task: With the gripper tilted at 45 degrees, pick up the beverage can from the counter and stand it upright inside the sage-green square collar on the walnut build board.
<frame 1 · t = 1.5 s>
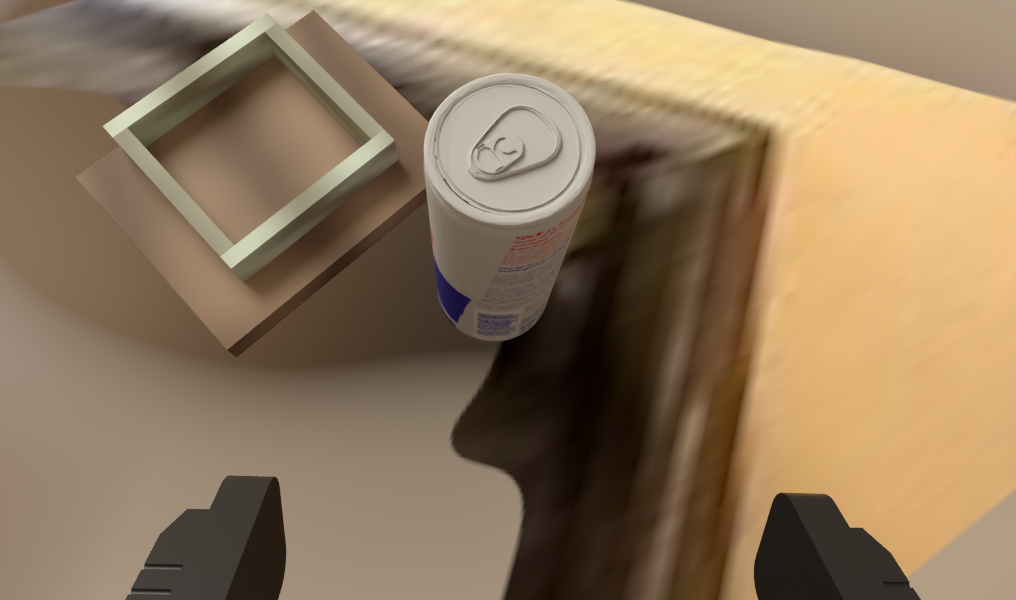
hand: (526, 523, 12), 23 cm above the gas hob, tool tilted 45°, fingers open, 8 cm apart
build board: (280, 180, 38), on the gas hob
beverage can: (492, 291, 37), on the gas hob
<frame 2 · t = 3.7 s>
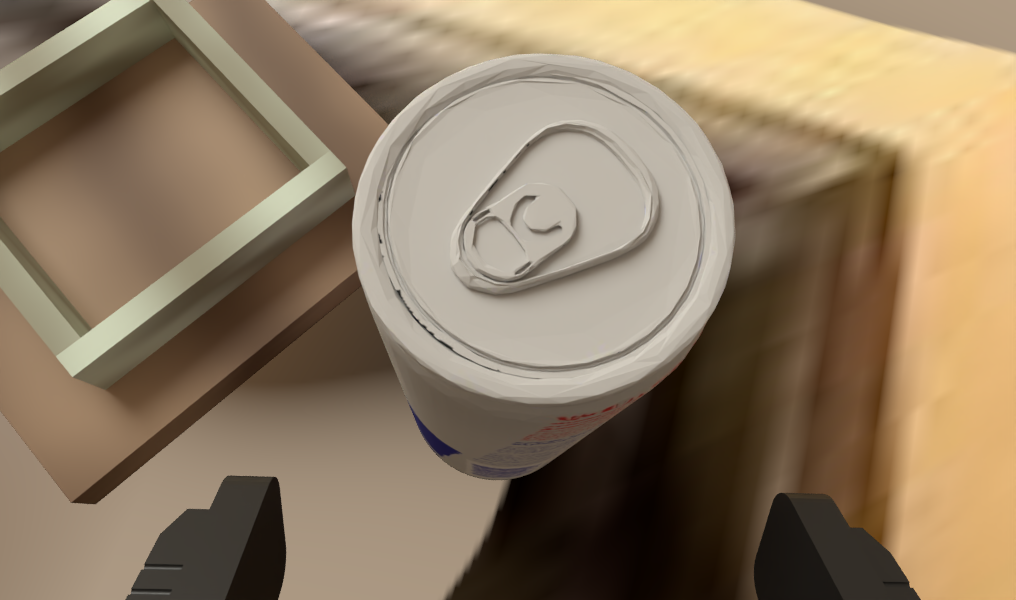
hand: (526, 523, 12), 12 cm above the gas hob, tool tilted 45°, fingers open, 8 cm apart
build board: (180, 222, 25), on the gas hob
beverage can: (496, 396, 25), on the gas hob
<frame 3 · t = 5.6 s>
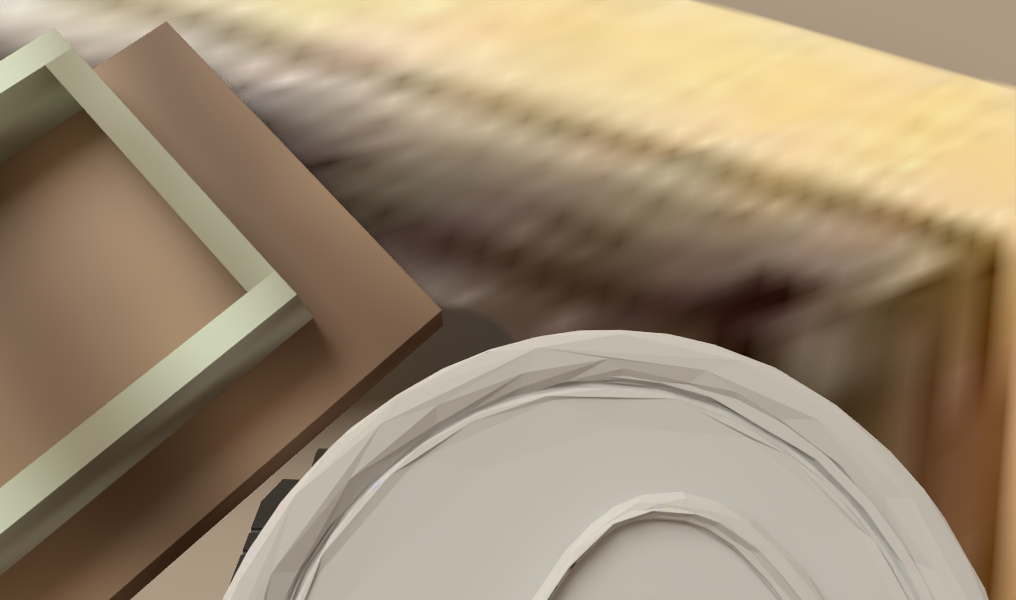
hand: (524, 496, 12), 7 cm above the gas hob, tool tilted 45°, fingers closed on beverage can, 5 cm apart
build board: (89, 348, 20), on the gas hob
beverage can: (498, 578, 19), on the gas hob, touching gripper
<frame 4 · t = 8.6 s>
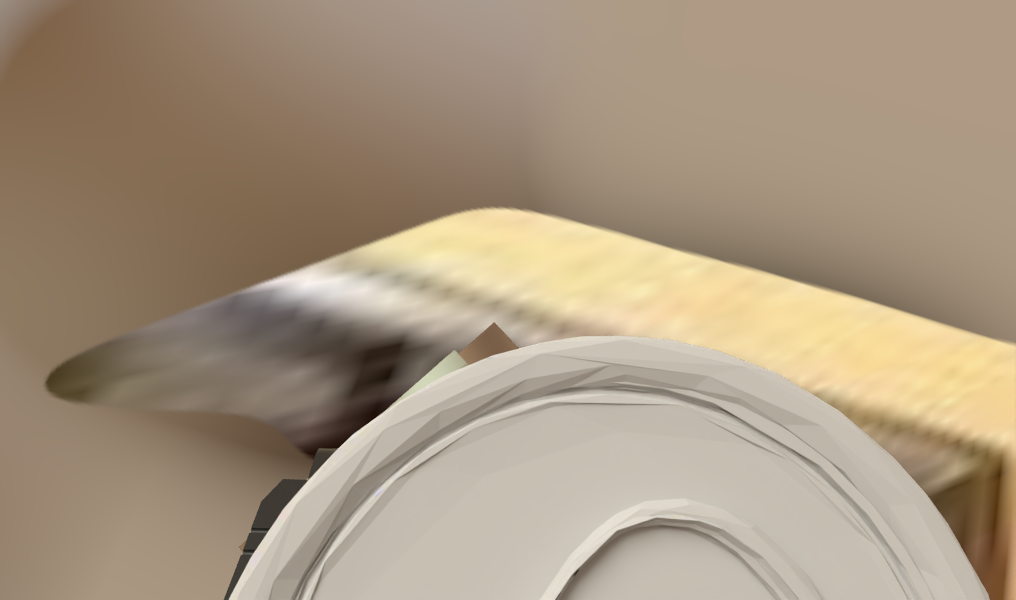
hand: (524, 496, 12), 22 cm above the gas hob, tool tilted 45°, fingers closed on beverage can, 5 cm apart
build board: (461, 529, 33), on the gas hob
beverage can: (498, 580, 19), point 15 cm above the gas hob, touching gripper
when the fingers open (10 cm above the gas hob, at t = 11.7 s): beverage can drops 1 cm, resting on build board.
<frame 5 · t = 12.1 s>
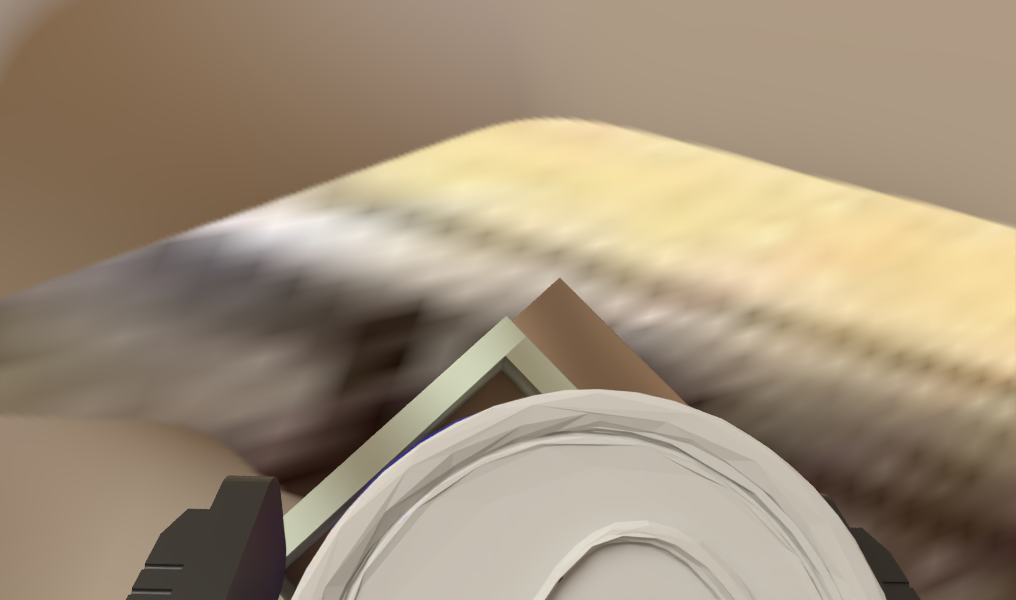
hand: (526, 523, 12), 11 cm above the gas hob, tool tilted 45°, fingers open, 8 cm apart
build board: (516, 598, 21), on the gas hob
beverage can: (496, 586, 20), point 1 cm above the gas hob, touching build board
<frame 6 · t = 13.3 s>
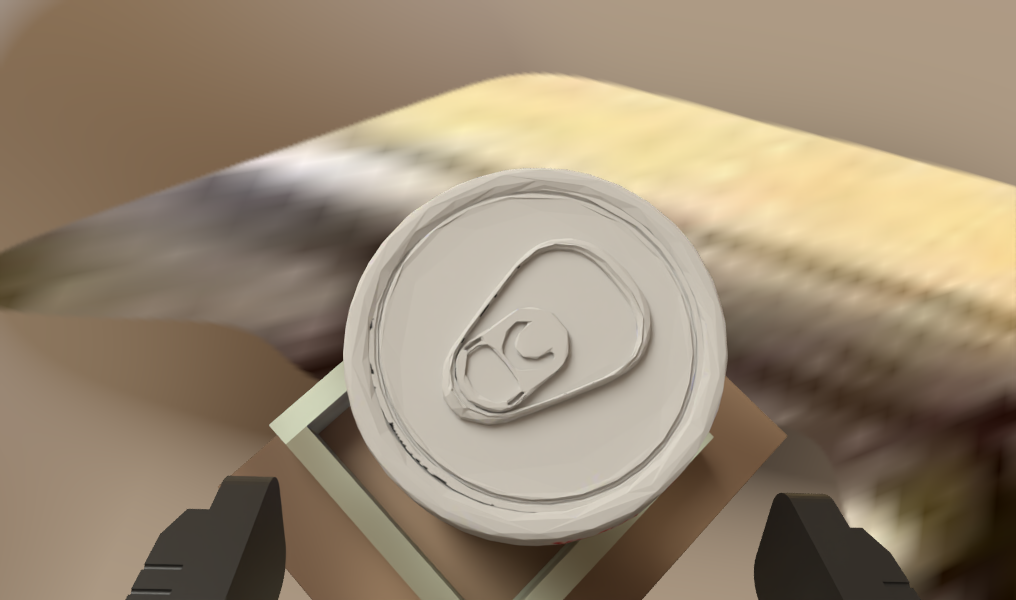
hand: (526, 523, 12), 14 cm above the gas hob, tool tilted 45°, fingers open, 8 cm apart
build board: (509, 464, 26), on the gas hob
beverage can: (493, 447, 25), point 1 cm above the gas hob, touching build board
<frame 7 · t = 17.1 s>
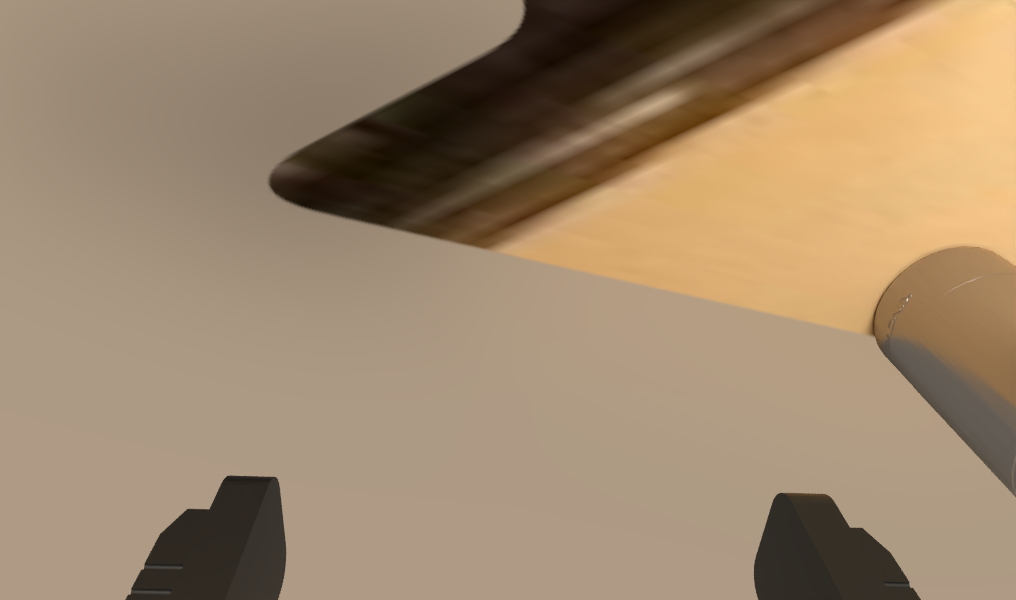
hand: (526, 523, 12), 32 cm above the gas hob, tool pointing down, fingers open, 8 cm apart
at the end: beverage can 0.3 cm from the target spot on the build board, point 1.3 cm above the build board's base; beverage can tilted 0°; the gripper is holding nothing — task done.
